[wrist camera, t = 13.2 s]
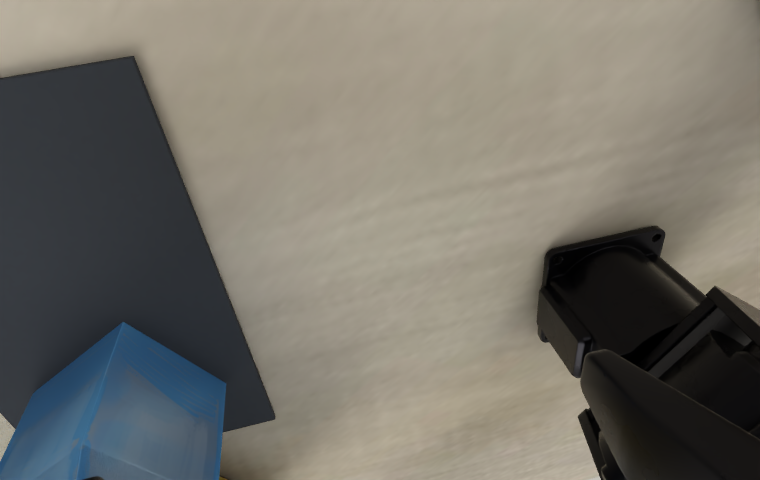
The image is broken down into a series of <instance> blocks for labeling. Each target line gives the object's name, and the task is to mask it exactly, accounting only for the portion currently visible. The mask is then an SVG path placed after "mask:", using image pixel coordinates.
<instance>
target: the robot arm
mask: <svg viewBox="0 0 760 480" xmlns="http://www.w3.org/2000/svg"><path fill="white" fill-rule="evenodd" d="M664 238H665V232H664V231H663V230H662V229H661V228H660V227H658V226H651V227H646V228H642V229H638V230H633V231H629V232H624V233H620V234H615V235H611V236H606V237H602V238H598V239H593V240H589V241H584V242H580V243H575V244H571V245H567V246H562V247H558V248H554V249H551V250H550V251H548V252H547V254H546V256H545V260H544V271H543V282H542V287H541V289H540V291H539V301H538V312H537V324H538V336H539V337H540V339H541V340H542V341H543V342H550V343H551V345H552V346H553V348H554V349H555V351H556V352H557V354H558V355H559V357H560V358H561V360H562V361H563V363H564V364H565V365H566V367H567V368H568V370H569V371H570V373H571V374H572V375H573V376H574V377H576V378H581V380H580V383H581V389H582V392H583V394H584V396H585V398H586V400H587V402H588V404H589V406H590V408H589V409H585V410H584V411H583V412H582V413H581V414H580V415H579V416H578V419H579V422H580V424H581V427H582V430H583V432H584V435H585V438H586V441H587V443H588V446H589V449H590V451H591V454H592V457H593V459H594V462H595V465H596V467H597V470H598V473H599V476H600V478H601V480H760V310H759V309H757V308H755V307H753V306H751V305H750V304H748V303H746V302H744V301H742V300H740V299H739V298H737V297H735V296H733V295H731V294H730V293H728V292H726V291H724V290H722V289H720V288H719V287H717V286H714V287H713V288H712V289H711V290H710V291H709V292H708V293H707V294H706V296H707V297H706V296H705V295H704V294H703V293H702V292H701V291H699V290H698V289H697V288H696V287H695V286H693V285H692V284H691V283H690V282H689V281H688V280H686V279H685V278H684V277H683V276H682V275H681V274H679V273H678V272H677V271H676V270H675V269H673V268H672V267H671V266H670V265H669V264H668V263H666V262H665V261H664V260H663V259H662V258H661V257H660V254H661V250H662V246H663V242H664ZM556 257H557V258H556ZM555 258H556V259H555ZM82 480H104V479H103V478H102V477H99V476H94V477H90V478H86V479H82Z"/></svg>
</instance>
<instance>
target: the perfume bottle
mask: <svg viewBox="0 0 760 480" xmlns="http://www.w3.org/2000/svg"><path fill="white" fill-rule="evenodd" d="M225 393H226V383H225V382H223V381H221V380H220V379H218V378H216V377H215V376H213V375H211V374H210V373H208V372H206V371H205V370H203V369H201V368H200V367H198V366H196V365H195V364H193V363H191V362H190V361H188V360H186V359H185V358H183V357H181V356H180V355H178V354H176V353H175V352H173V351H171V350H170V349H168V348H166V347H165V346H163V345H161V344H160V343H158V342H156V341H155V340H153V339H151V338H150V337H148V336H146V335H145V334H143V333H141V332H140V331H138V330H136V329H135V328H133V327H131V326H130V325H128V324H126V323H125V322H122V323H121V324H120V325H118V326H117V327H116V328H115V329H113V330H112V331H111V332H110V333H108V334H107V335H106V336H105V337H103V338H102V339H101V340H99V341H98V342H97V343H96V344H94V345H93V346H92V347H91V348H89V349H88V350H87V351H86V352H84V353H83V354H82V355H81V356H79V357H78V358H77V359H76V360H74V361H73V362H72V363H71V364H69V365H68V366H67V367H65V368H64V369H63V370H62V371H60V372H59V373H58V374H57V375H55V376H54V377H53V378H52V379H50V380H49V381H48V382H47V383H45V384H44V385H43V386H42V387H40V388H39V389H38V390H36V391H35V392H34V393H33V394H32V396H31V399H30V401H29V403H28V405H27V407H26V409H25V411H24V413H23V415H22V417H21V419H20V422H19V424H18V426H17V428H16V430H15V432H14V434H13V436H12V438H11V440H10V442H9V444H8V447H7V449H6V451H5V453H4V455H3V457H2V459H1V461H0V480H82V479H86V478H90V477H94V476H99V477H102V478H103V479H104V480H219V473H220V460H221V447H222V433H223V420H224V407H225Z"/></svg>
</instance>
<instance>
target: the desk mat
mask: <svg viewBox="0 0 760 480" xmlns="http://www.w3.org/2000/svg"><path fill="white" fill-rule="evenodd" d="M122 322H125V323H126V324H128V325H130V326H131V327H133V328H135V329H136V330H138V331H140V332H141V333H143V334H145V335H146V336H148V337H150V338H151V339H153V340H155V341H156V342H158V343H160V344H161V345H163V346H165V347H166V348H168V349H170V350H171V351H173V352H175V353H176V354H178V355H180V356H181V357H183V358H185V359H186V360H188V361H190V362H191V363H193V364H195V365H196V366H198V367H200V368H201V369H203V370H205V371H206V372H208V373H210V374H211V375H213V376H215V377H216V378H218V379H220V380H221V381H223V382H225V383H226V393H225V407H224V420H223V432H226V431H230V430H234V429H238V428H242V427H246V426H251V425H255V424H259V423H263V422H267V421H271V420H275V414H274V411H273V409H272V406H271V404H270V401H269V399H268V396H267V393H266V391H265V388H264V386H263V383H262V381H261V378H260V376H259V373H258V371H257V368H256V366H255V363H254V360H253V358H252V355H251V353H250V350H249V348H248V345H247V343H246V340H245V338H244V335H243V333H242V330H241V327H240V325H239V322H238V320H237V317H236V315H235V312H234V310H233V307H232V305H231V302H230V299H229V297H228V294H227V292H226V289H225V287H224V284H223V282H222V279H221V277H220V274H219V272H218V269H217V266H216V264H215V261H214V259H213V256H212V254H211V251H210V249H209V246H208V244H207V241H206V239H205V236H204V233H203V231H202V228H201V226H200V223H199V221H198V218H197V216H196V213H195V211H194V208H193V205H192V203H191V200H190V198H189V195H188V193H187V190H186V188H185V185H184V183H183V180H182V178H181V175H180V172H179V170H178V167H177V165H176V162H175V160H174V157H173V155H172V152H171V150H170V147H169V144H168V142H167V139H166V137H165V134H164V132H163V129H162V127H161V124H160V122H159V119H158V117H157V114H156V111H155V109H154V106H153V104H152V101H151V99H150V96H149V94H148V91H147V89H146V86H145V84H144V81H143V78H142V76H141V73H140V71H139V68H138V66H137V63H136V61H135V58H134V56H129V57H124V58H118V59H112V60H106V61H100V62H94V63H88V64H82V65H76V66H70V67H64V68H58V69H52V70H46V71H41V72H35V73H29V74H23V75H17V76H11V77H5V78H0V413H1V414H2V415H3V416H4V417H5V418H6V419H7V421H8V422H9V423H10V424H11V425H12V426H13V427H14V428H15V429H16V428H17V426H18V424H19V422H20V419H21V417H22V415H23V413H24V411H25V409H26V407H27V405H28V403H29V401H30V399H31V396H32V394H33V393H34V392H35V391H36V390H38V389H39V388H40V387H42V386H43V385H44V384H45V383H47V382H48V381H49V380H50V379H52V378H53V377H54V376H55V375H57V374H58V373H59V372H60V371H62V370H63V369H64V368H65V367H67V366H68V365H69V364H71V363H72V362H73V361H74V360H76V359H77V358H78V357H79V356H81V355H82V354H83V353H84V352H86V351H87V350H88V349H89V348H91V347H92V346H93V345H94V344H96V343H97V342H98V341H99V340H101V339H102V338H103V337H105V336H106V335H107V334H108V333H110V332H111V331H112V330H113V329H115V328H116V327H117V326H118V325H120V324H121V323H122Z"/></svg>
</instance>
